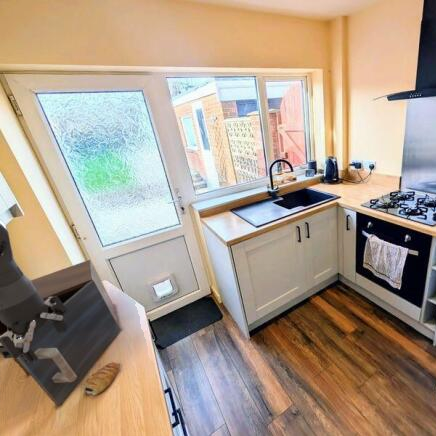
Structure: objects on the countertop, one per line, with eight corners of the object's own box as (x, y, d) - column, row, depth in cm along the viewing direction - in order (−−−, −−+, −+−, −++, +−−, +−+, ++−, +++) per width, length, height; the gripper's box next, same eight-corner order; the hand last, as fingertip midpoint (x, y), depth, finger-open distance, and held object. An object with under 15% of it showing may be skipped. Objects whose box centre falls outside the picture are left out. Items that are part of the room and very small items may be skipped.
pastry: (109, 364, 82) (104, 356, 81) (125, 367, 81) (121, 359, 79) (82, 393, 74) (76, 385, 72) (100, 397, 72) (94, 389, 71)
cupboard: (119, 329, 96) (91, 279, 86) (27, 375, 81) (-18, 322, 71) (114, 305, 109) (89, 259, 99) (34, 341, 94) (-4, 292, 84)
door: (135, 329, 95) (109, 279, 85) (79, 405, 71) (34, 348, 61) (117, 330, 95) (90, 280, 85) (56, 405, 71) (8, 349, 61)
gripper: (28, 278, 63) (59, 324, 70) (-40, 322, 51) (6, 373, 57) (56, 276, 63) (84, 322, 70) (-5, 320, 50) (36, 371, 57)
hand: (49, 345), depth 64 cm, fingers open, 8 cm apart
